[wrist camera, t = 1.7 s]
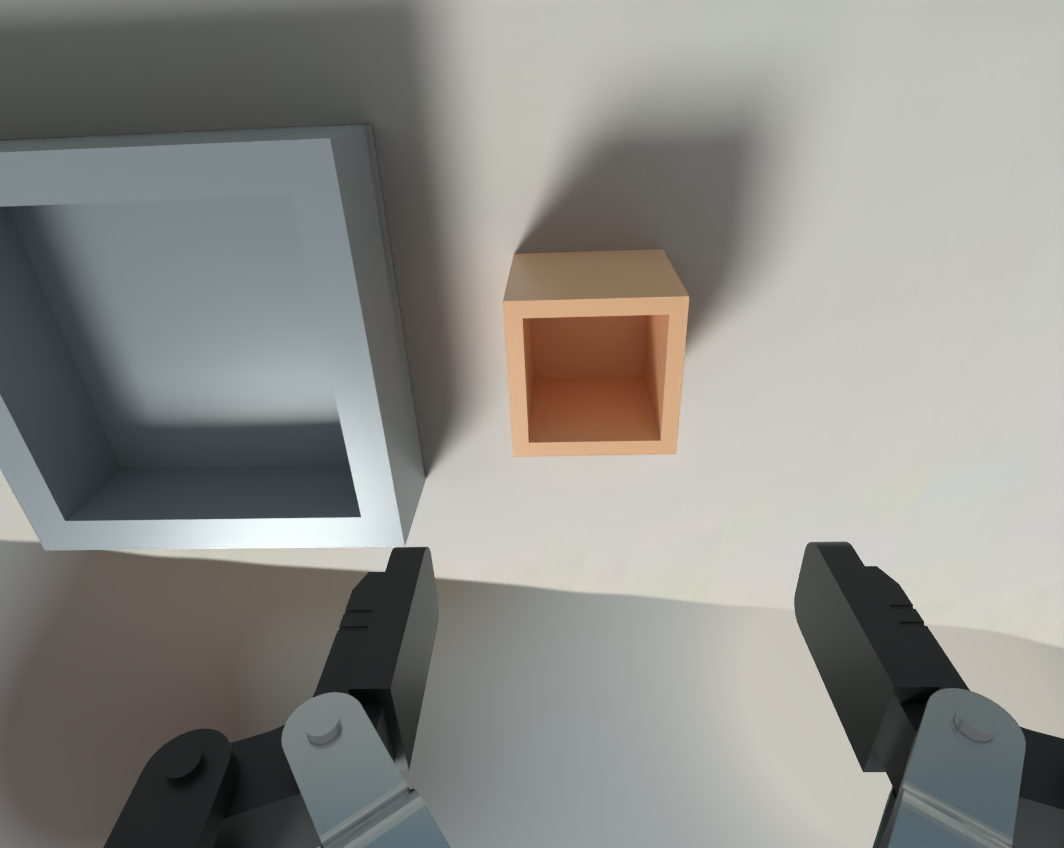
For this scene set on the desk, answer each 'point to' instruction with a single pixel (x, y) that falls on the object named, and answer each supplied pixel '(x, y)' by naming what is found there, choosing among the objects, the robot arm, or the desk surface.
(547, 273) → the box
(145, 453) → the big crate
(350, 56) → the desk surface
